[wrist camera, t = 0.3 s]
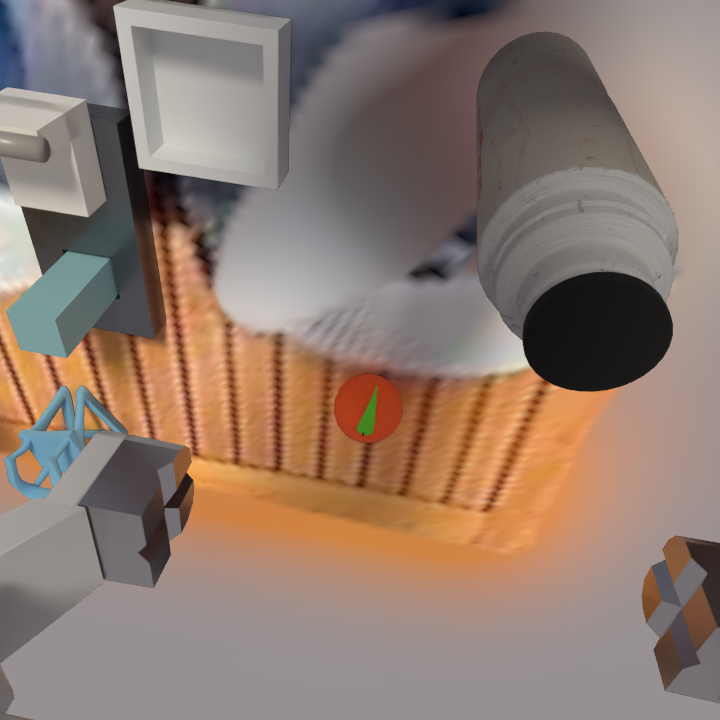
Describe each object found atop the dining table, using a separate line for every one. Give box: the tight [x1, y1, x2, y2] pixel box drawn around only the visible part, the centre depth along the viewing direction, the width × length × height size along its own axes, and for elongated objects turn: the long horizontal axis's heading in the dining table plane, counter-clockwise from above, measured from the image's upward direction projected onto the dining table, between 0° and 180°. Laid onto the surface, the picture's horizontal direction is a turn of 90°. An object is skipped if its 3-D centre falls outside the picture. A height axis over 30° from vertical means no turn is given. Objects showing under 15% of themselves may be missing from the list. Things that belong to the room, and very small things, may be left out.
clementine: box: [334, 374, 402, 443], centre depth 59 cm, size 8×7×7 cm
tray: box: [113, 0, 291, 190], centre depth 43 cm, size 11×11×4 cm
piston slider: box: [0, 87, 106, 217], centre depth 43 cm, size 8×7×8 cm
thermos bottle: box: [477, 32, 678, 392], centre depth 31 cm, size 8×8×28 cm
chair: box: [4, 386, 128, 500], centre depth 67 cm, size 8×8×12 cm
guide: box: [21, 103, 166, 338], centre depth 52 cm, size 21×10×3 cm, turn 174°
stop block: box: [6, 250, 119, 358], centre depth 52 cm, size 4×4×12 cm
